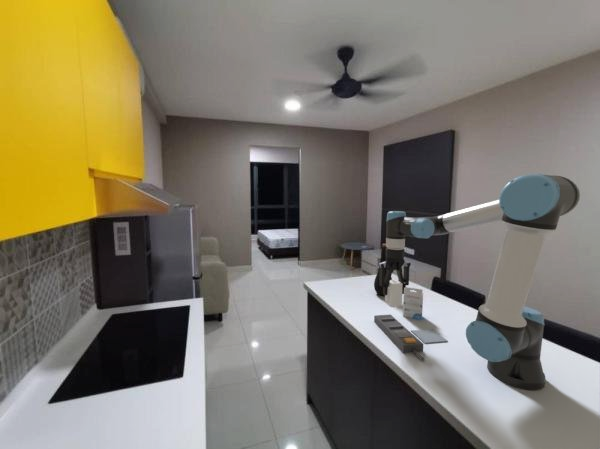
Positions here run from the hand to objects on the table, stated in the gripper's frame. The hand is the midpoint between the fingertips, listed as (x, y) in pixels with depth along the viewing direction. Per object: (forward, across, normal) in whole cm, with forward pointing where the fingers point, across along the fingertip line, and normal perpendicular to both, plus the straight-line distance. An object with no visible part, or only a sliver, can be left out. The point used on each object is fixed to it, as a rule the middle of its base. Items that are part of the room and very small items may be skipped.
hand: (393, 301), depth 120 cm
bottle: (+13, -16, -42) cm, 47 cm away
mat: (+13, -13, +7) cm, 20 cm away
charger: (+1, 0, 0) cm, 1 cm away
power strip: (+13, 0, +7) cm, 15 cm away
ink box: (+13, -17, -12) cm, 25 cm away
